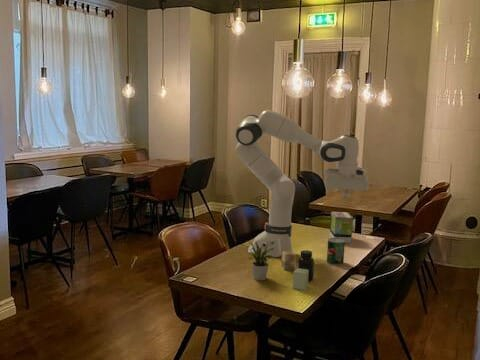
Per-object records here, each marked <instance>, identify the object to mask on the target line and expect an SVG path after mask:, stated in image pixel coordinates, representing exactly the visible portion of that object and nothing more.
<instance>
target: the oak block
mask: <svg viewBox="0 0 480 360" xmlns="http://www.w3.org/2000/svg"><path fill="white" fill-rule="evenodd" d="M296 258H297V254H296V253H295V252H294V251H293V250H292V251H282V256H281V267H282V269H283V270H284V271H286V270H294V271H295V269H296V261H297V260H296Z"/></svg>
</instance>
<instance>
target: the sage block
mask: <svg viewBox="0 0 480 360" xmlns="http://www.w3.org/2000/svg"><path fill="white" fill-rule="evenodd" d="M308 274H309V270H306V269H300V268H298V267H295V270H294V271H293V274H292V275H293V278H292V289H295V290H300V291H306V289H307V288H308V284H309V281H308Z"/></svg>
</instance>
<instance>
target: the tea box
mask: <svg viewBox="0 0 480 360" xmlns="http://www.w3.org/2000/svg"><path fill="white" fill-rule="evenodd" d="M329 223H330V224H329V238H339V239H343V240H345V244H352V238H353V237H352V235H353V225H354V217H353V216H352V215H351V214H350V213H349V211H348V212H345V211H343V212H342V211H331V212H330V222H329Z"/></svg>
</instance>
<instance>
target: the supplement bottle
mask: <svg viewBox="0 0 480 360" xmlns="http://www.w3.org/2000/svg"><path fill="white" fill-rule="evenodd" d="M297 268H300V269H306V270H309V274H308V282H311V281H313V280H314V278H315V277H314V275H315V259H314V258H313V251H311V250H309V249H308V250H305V249H304V250H300V255H299V258H298V259H297Z"/></svg>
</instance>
